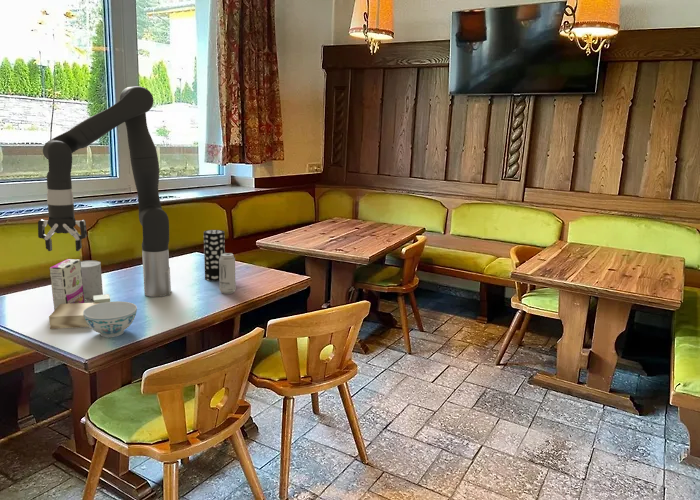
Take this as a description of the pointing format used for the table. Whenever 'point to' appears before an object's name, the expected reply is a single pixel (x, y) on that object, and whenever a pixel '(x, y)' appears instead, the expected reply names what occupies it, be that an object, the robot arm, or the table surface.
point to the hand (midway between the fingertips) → (64, 250)
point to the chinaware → (110, 317)
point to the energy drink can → (227, 273)
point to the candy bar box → (67, 282)
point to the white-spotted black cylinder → (213, 253)
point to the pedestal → (69, 316)
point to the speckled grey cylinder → (91, 279)
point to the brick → (101, 298)
